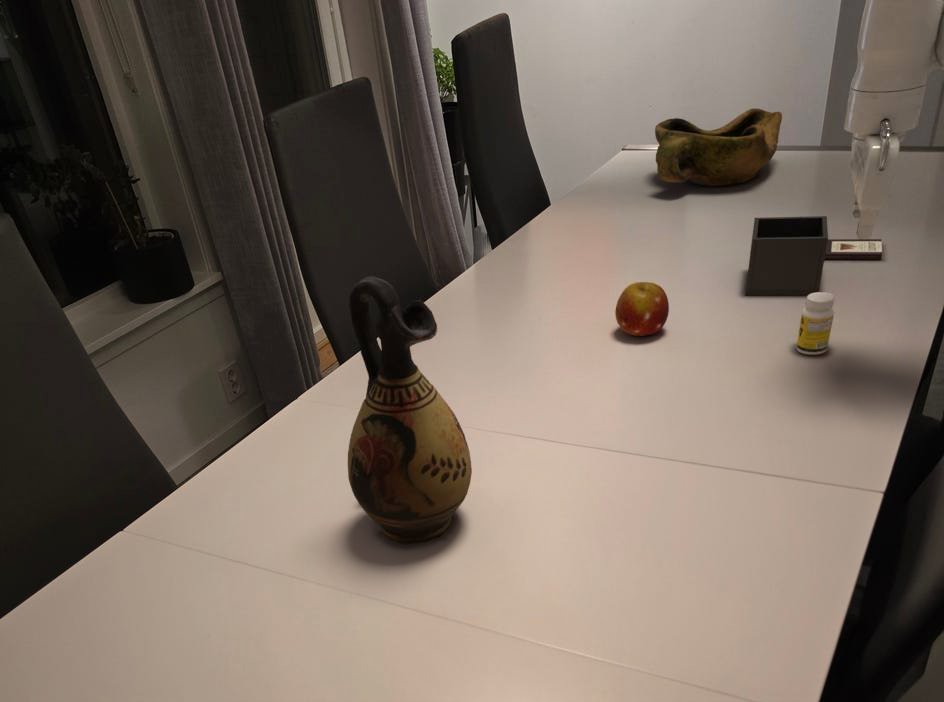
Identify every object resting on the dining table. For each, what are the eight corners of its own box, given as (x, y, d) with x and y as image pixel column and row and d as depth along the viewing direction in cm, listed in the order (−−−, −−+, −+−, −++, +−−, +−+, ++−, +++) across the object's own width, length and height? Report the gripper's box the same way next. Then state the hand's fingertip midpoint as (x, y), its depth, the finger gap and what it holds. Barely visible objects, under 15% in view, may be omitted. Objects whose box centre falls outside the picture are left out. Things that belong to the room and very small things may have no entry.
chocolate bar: (785, 239, 171) (881, 239, 166) (784, 244, 172) (880, 244, 166) (782, 254, 165) (882, 254, 160) (782, 259, 166) (880, 259, 160)
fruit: (666, 343, 142) (669, 295, 137) (613, 344, 144) (613, 296, 139) (668, 321, 149) (670, 274, 144) (616, 322, 151) (617, 276, 146)
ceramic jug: (502, 514, 108) (482, 275, 88) (414, 571, 100) (370, 324, 81) (415, 474, 118) (380, 251, 98) (329, 523, 110) (272, 293, 91)
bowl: (680, 156, 232) (681, 94, 222) (789, 154, 219) (795, 87, 208) (627, 210, 210) (625, 144, 200) (745, 210, 197) (749, 139, 186)
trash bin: (817, 271, 159) (826, 215, 153) (818, 295, 151) (828, 237, 144) (748, 271, 163) (754, 217, 156) (745, 295, 154) (751, 239, 148)
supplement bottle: (798, 342, 137) (807, 290, 131) (829, 344, 135) (839, 291, 130) (793, 354, 134) (802, 301, 128) (824, 356, 132) (834, 303, 126)
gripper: (919, 128, 99) (892, 250, 108) (902, 94, 113) (879, 204, 123) (861, 132, 101) (840, 252, 110) (852, 97, 115) (833, 206, 124)
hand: (860, 226), depth 116 cm, fingers open, 8 cm apart
